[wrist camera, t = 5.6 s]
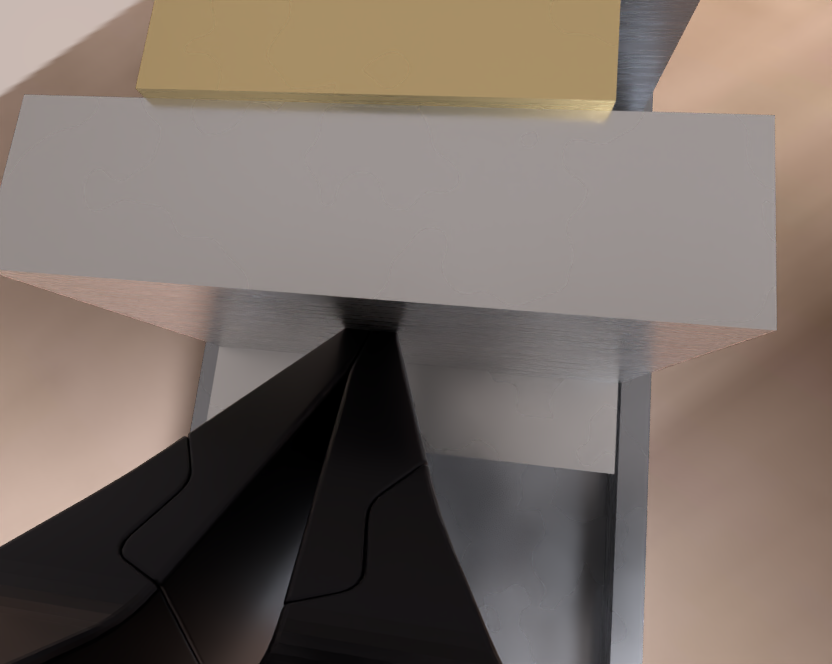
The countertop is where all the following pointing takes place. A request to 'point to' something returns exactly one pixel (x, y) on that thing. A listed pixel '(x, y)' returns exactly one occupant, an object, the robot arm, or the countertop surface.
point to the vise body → (559, 478)
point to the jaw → (411, 245)
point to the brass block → (386, 52)
